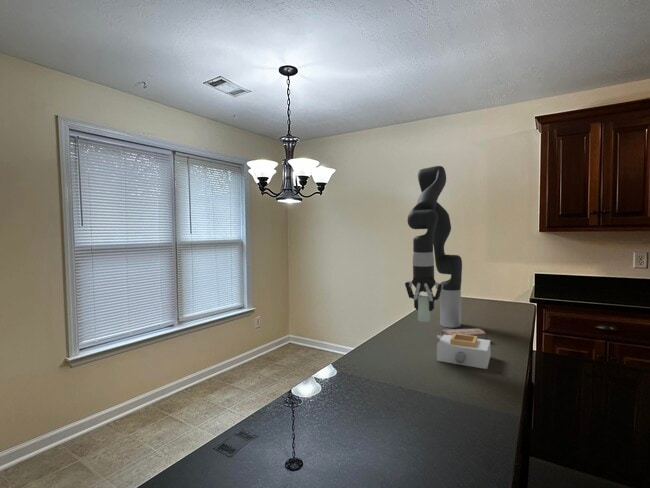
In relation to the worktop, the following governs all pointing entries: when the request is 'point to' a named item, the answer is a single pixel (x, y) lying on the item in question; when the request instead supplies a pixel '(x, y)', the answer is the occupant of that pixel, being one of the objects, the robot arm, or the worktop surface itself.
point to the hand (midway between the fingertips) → (424, 309)
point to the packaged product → (465, 333)
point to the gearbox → (464, 350)
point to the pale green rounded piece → (423, 308)
